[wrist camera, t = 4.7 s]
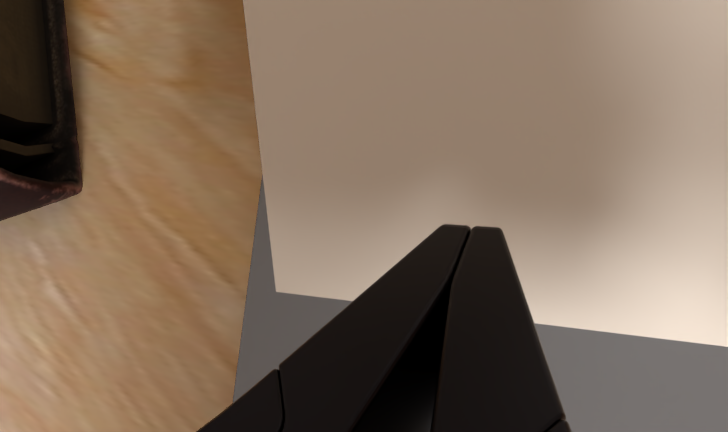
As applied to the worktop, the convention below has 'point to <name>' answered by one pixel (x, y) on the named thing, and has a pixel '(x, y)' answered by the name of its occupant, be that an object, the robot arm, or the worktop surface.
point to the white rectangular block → (504, 148)
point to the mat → (561, 347)
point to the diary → (36, 108)
